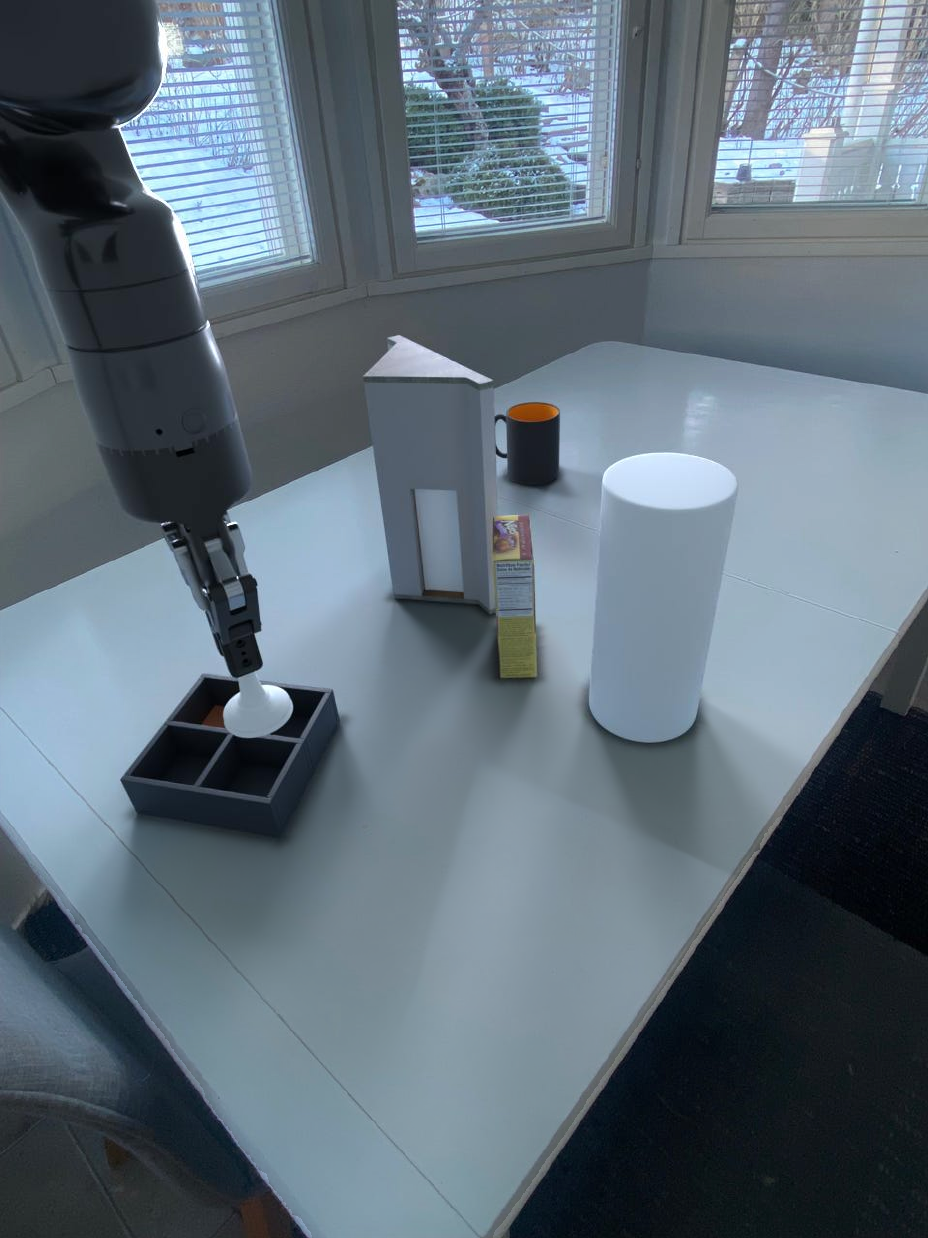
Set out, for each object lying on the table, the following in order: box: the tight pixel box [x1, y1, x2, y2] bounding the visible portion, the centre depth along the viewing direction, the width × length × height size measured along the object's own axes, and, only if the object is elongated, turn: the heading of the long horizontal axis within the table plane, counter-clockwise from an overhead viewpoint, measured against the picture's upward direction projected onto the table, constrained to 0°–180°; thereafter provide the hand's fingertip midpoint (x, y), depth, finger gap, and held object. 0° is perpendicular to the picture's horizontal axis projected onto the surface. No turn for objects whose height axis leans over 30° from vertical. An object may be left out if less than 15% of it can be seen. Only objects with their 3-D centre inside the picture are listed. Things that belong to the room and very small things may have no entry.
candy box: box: [493, 514, 538, 679], centre depth 77 cm, size 9×4×15 cm, turn 178°
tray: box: [119, 672, 341, 839], centre depth 69 cm, size 14×14×5 cm
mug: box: [495, 401, 561, 486], centre depth 116 cm, size 8×12×10 cm
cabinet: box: [362, 334, 499, 615], centre depth 86 cm, size 21×10×28 cm, turn 31°
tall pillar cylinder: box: [588, 452, 739, 744], centre depth 67 cm, size 11×11×25 cm
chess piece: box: [223, 671, 293, 738], centre depth 50 cm, size 5×5×10 cm
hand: (241, 660), depth 50 cm, fingers closed on chess piece
